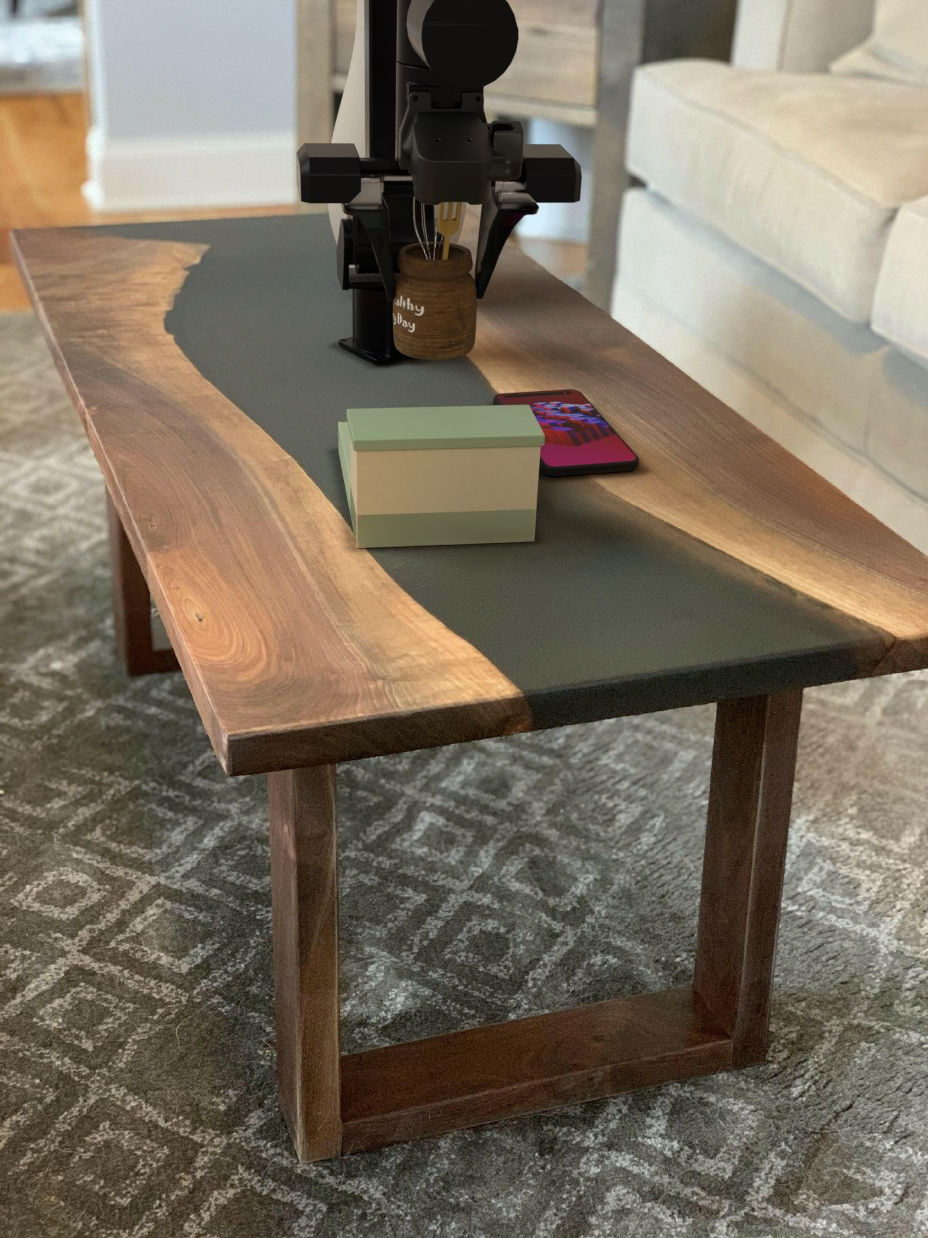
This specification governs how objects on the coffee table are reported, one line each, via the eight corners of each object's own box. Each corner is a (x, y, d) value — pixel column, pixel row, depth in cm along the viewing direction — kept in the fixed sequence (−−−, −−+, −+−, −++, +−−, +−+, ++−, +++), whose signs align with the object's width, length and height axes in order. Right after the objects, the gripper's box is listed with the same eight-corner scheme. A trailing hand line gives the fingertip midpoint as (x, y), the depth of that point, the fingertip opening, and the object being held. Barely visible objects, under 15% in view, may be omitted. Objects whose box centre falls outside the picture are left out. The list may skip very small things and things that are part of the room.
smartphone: (545, 468, 103) (490, 393, 116) (544, 479, 104) (489, 403, 116) (643, 461, 105) (579, 387, 117) (642, 472, 105) (578, 397, 118)
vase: (312, 305, 138) (305, -31, 123) (347, 267, 149) (345, -44, 134) (449, 318, 136) (460, -22, 121) (474, 278, 147) (487, -36, 132)
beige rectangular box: (335, 452, 107) (334, 353, 103) (496, 447, 108) (501, 350, 105) (353, 549, 93) (353, 440, 89) (537, 542, 95) (545, 434, 91)
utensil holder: (458, 331, 104) (461, 164, 98) (489, 358, 99) (494, 185, 93) (382, 339, 102) (380, 170, 96) (410, 367, 97) (410, 191, 91)
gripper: (302, 81, 83) (308, 338, 91) (610, 85, 86) (590, 333, 93) (293, 52, 92) (298, 286, 100) (570, 56, 95) (555, 284, 103)
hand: (434, 298), depth 99 cm, fingers closed on utensil holder, 6 cm apart
